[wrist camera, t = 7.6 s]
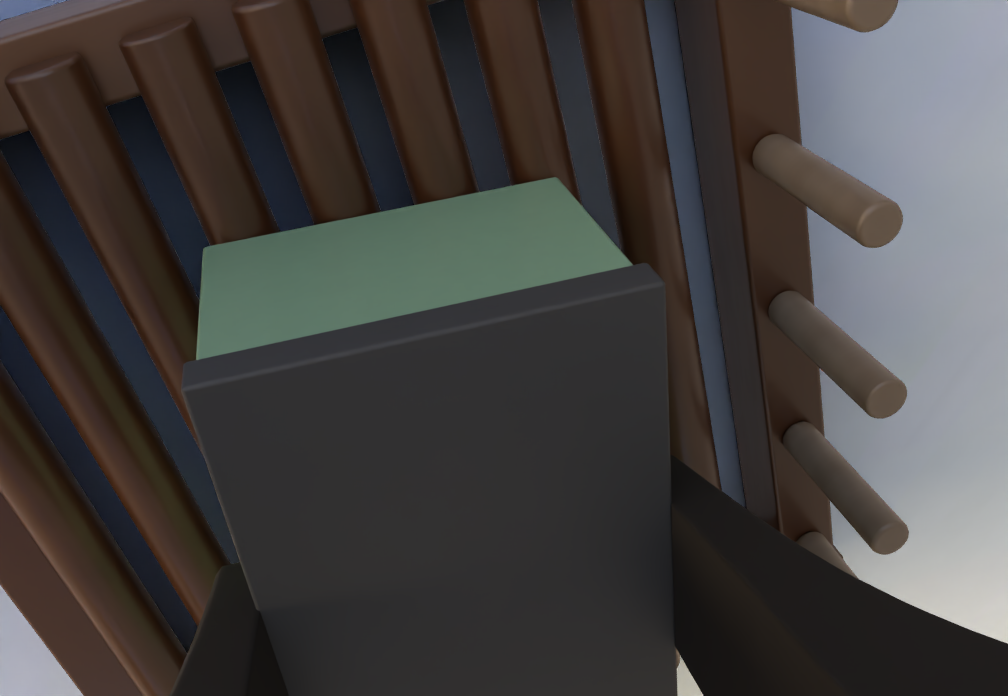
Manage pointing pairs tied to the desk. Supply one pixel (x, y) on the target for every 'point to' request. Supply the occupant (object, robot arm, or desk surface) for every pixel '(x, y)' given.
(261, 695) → the robot arm
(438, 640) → the box
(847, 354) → the dish rack
